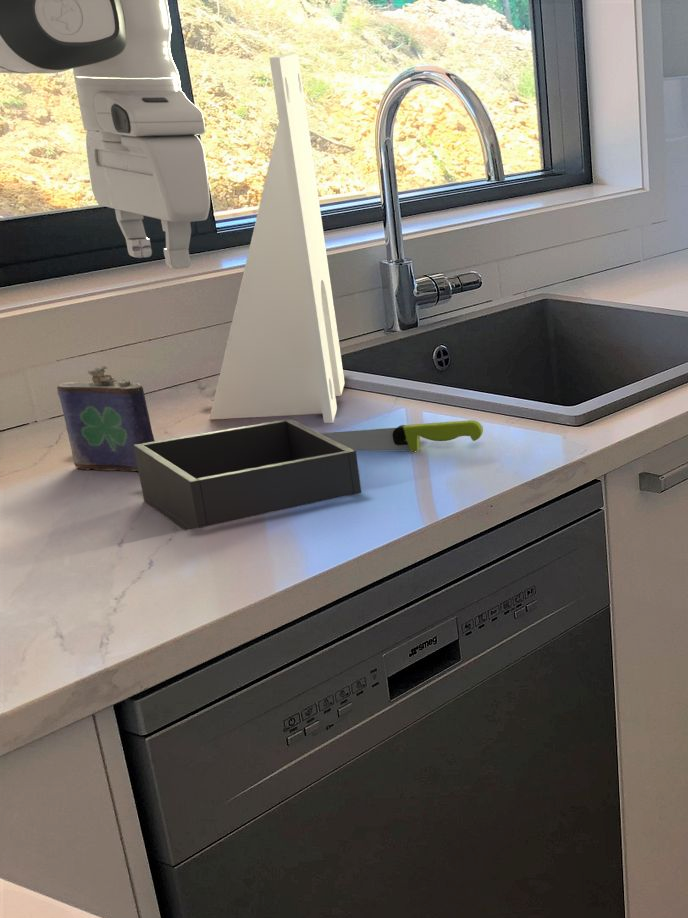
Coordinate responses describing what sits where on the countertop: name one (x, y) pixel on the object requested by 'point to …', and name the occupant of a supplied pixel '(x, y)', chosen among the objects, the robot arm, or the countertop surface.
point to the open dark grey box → (243, 472)
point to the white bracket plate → (284, 285)
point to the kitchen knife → (406, 435)
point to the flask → (105, 421)
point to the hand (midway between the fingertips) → (159, 262)
